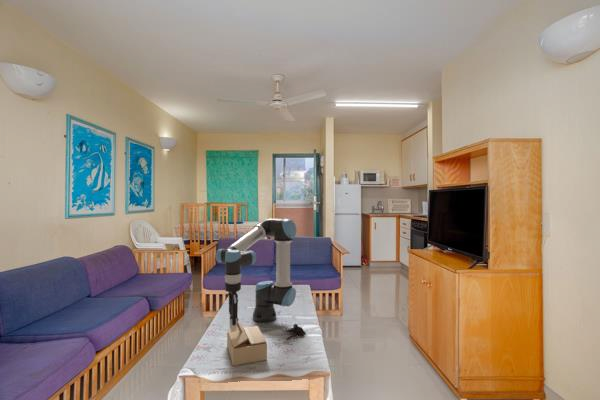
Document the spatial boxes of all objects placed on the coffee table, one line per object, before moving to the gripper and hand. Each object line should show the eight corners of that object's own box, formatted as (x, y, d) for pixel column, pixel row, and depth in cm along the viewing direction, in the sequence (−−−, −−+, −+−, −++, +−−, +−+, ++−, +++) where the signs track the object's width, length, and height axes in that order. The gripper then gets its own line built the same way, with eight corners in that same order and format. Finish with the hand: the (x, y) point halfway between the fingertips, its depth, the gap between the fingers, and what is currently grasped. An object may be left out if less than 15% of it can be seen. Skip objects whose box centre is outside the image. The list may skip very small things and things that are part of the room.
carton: (227, 346, 161) (227, 329, 161) (257, 341, 166) (257, 325, 166) (233, 366, 142) (233, 347, 142) (266, 360, 148) (267, 341, 148)
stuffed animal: (306, 327, 183) (305, 322, 173) (305, 345, 178) (304, 341, 168) (286, 326, 184) (284, 321, 174) (285, 344, 179) (283, 340, 169)
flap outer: (227, 331, 160) (220, 315, 159) (240, 323, 163) (233, 307, 161) (233, 347, 143) (225, 330, 141) (248, 338, 145) (239, 321, 143)
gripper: (223, 278, 158) (223, 324, 158) (227, 287, 143) (227, 337, 143) (237, 277, 160) (237, 322, 161) (243, 285, 145) (243, 335, 146)
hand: (233, 329), depth 152 cm, fingers closed on flap outer, 3 cm apart
